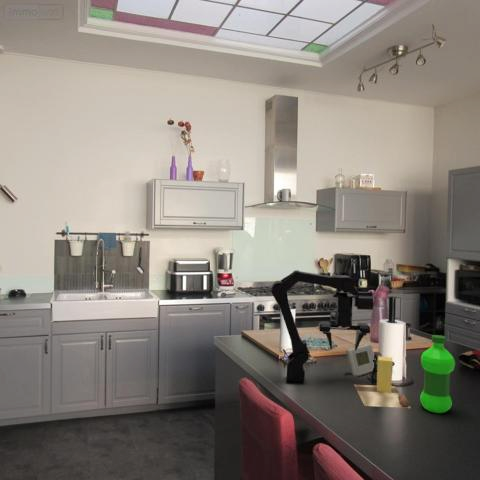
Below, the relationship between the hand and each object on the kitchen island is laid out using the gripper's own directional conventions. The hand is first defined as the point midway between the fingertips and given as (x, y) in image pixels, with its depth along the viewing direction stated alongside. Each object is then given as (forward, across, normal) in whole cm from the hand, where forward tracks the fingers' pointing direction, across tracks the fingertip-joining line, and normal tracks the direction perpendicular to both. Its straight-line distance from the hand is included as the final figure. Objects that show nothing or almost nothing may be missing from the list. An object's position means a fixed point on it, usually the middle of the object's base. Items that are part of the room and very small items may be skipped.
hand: (343, 349), depth 188 cm
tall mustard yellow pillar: (+12, -14, +8) cm, 20 cm away
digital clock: (+13, -10, -15) cm, 22 cm away
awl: (+12, -18, +18) cm, 28 cm away
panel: (+13, -12, +14) cm, 22 cm away
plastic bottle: (+13, -27, +24) cm, 38 cm away
